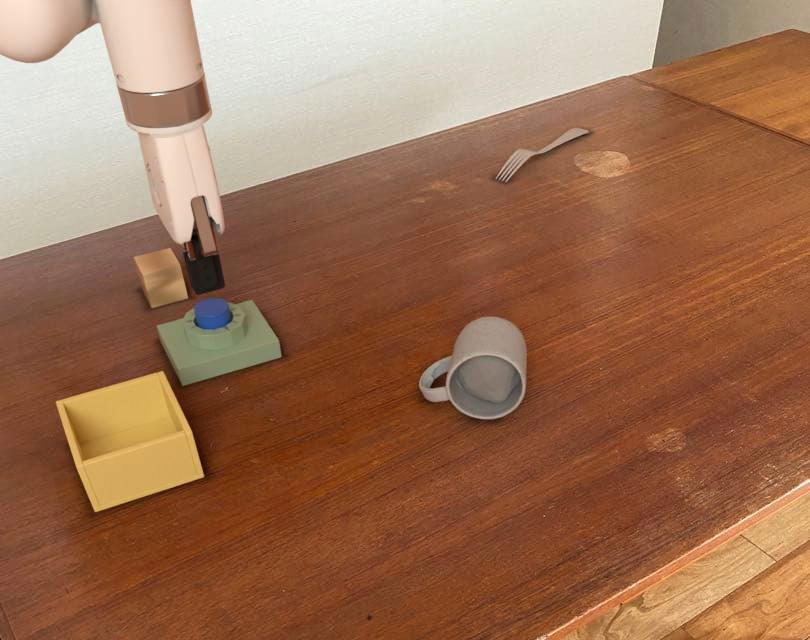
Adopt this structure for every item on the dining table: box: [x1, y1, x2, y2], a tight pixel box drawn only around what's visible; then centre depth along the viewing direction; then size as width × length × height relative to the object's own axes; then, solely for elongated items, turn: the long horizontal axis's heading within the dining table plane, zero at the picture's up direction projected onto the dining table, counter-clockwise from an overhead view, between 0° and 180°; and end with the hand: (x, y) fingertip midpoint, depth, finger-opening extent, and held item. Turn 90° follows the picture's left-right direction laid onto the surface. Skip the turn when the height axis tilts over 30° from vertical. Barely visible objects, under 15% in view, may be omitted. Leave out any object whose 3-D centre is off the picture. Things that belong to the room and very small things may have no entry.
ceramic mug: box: [418, 315, 528, 420], centre depth 85 cm, size 11×8×8 cm
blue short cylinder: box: [193, 297, 231, 330], centre depth 91 cm, size 4×4×2 cm
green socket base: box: [156, 299, 282, 387], centre depth 93 cm, size 11×9×4 cm
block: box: [133, 247, 189, 309], centre depth 101 cm, size 4×4×4 cm
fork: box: [495, 127, 590, 183], centre depth 125 cm, size 3×21×3 cm, turn 139°
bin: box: [55, 370, 205, 513], centre depth 80 cm, size 10×10×6 cm
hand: (208, 287), depth 89 cm, fingers closed
